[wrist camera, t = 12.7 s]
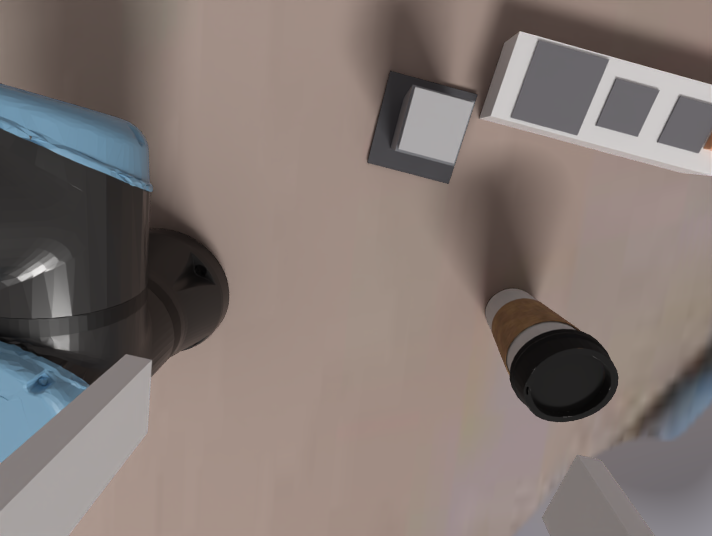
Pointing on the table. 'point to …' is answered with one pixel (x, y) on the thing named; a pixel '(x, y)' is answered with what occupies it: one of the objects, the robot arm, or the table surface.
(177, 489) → the table surface
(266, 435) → the table surface
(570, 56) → the power strip
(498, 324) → the coffee cup
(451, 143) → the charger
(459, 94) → the mat
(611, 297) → the table surface
